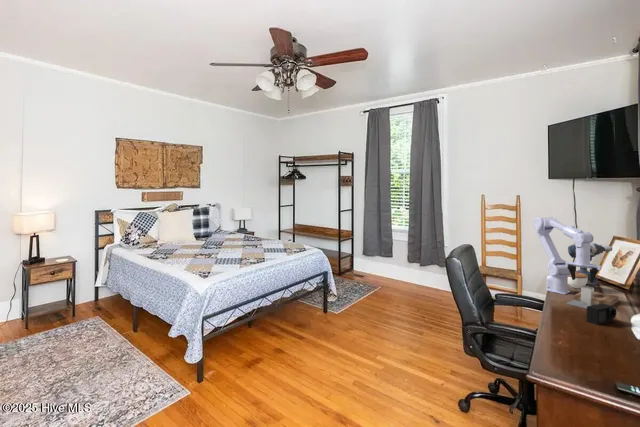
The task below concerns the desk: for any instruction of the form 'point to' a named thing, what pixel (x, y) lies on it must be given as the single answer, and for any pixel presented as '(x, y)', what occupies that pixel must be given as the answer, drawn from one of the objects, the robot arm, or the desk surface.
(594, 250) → the impact wrench
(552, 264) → the robot arm
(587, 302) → the grey rectangular block
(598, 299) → the socket block
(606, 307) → the digital camera
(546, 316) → the desk surface
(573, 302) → the mat
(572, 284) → the lidded jar
